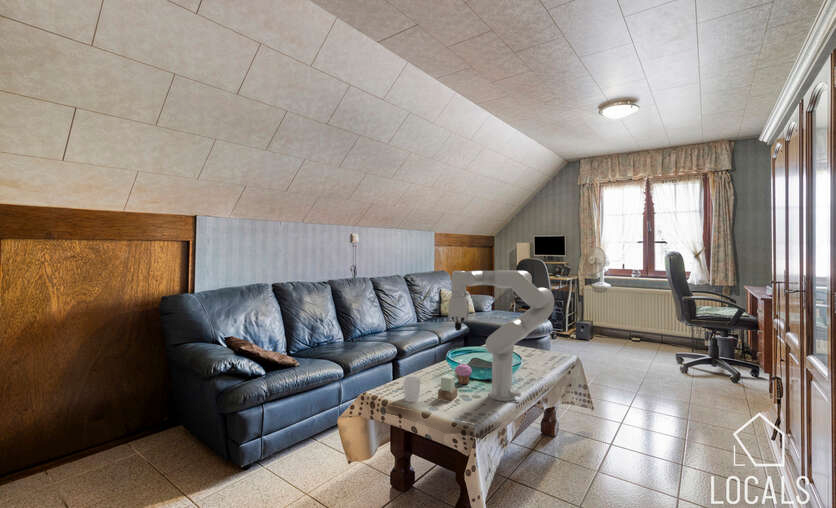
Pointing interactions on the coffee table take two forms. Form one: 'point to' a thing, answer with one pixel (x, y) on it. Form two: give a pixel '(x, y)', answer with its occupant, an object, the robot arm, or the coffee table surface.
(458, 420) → the coffee table surface
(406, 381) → the white cup
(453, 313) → the robot arm
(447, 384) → the sage cube
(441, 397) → the walnut base block
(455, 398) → the mat
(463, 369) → the cupcake
